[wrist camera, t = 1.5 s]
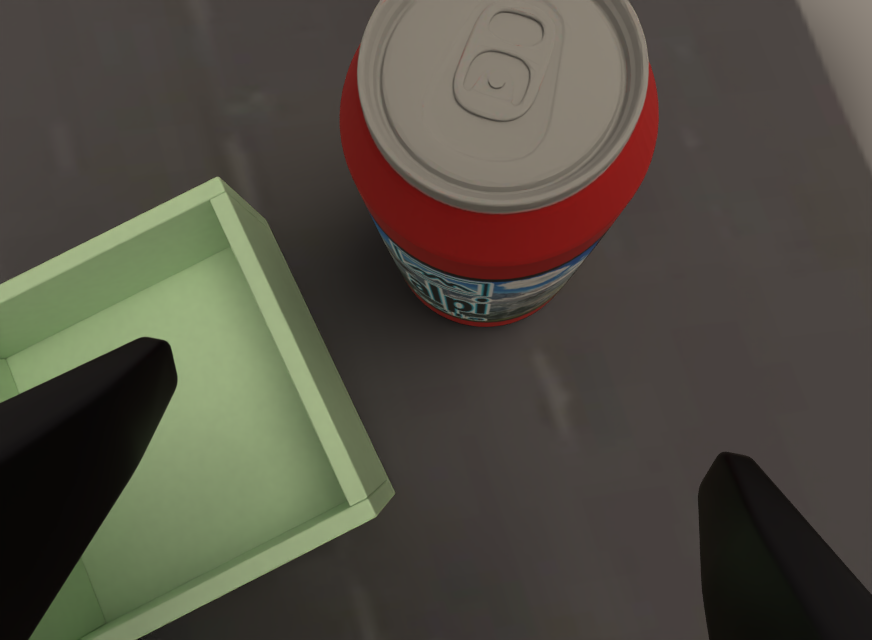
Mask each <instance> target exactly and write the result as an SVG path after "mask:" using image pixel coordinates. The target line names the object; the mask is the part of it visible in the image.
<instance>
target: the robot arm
mask: <svg viewBox="0 0 872 640" xmlns="http://www.w3.org/2000/svg"><path fill="white" fill-rule="evenodd" d="M177 382H178V375H177V371H176V366H175V362H174V358H173V353H172V349H171V346H170V344H169V343H168V342H167V341H165V340H162V339H157V338H152V337H140V338H138V339H136V340H133V341H131V342H129V343H127V344H125V345H123V346H121V347H118V348H116V349H114V350H112V351H110V352H108V353H106V354H104V355H101V356H99V357H97V358H95V359H93V360H91V361H89V362H86V363H84V364H82V365H80V366H78V367H76V368H74V369H72V370H69V371H67V372H65V373H63V374H61V375H59V376H57V377H54V378H52V379H50V380H48V381H46V382H44V383H42V384H40V385H37V386H35V387H33V388H31V389H29V390H27V391H25V392H23V393H20V394H18V395H16V396H14V397H12V398H10V399H8V400H5V401H3V402H1V403H0V640H29V638H30V637H31V635H32V634H33V632H34V630H35V629H36V627H37V626H38V624H39V622H40V621H41V619H42V618H43V616H44V615H45V613H46V611H47V610H48V608H49V607H50V605H51V604H52V602H53V600H54V599H55V597H56V596H57V594H58V592H59V591H60V589H61V588H62V586H63V585H64V583H65V581H66V580H67V578H68V577H69V575H70V573H71V572H72V570H73V569H74V567H75V566H76V564H77V562H78V561H79V559H80V558H81V556H82V555H83V553H84V551H85V550H86V548H87V547H88V545H89V543H90V542H91V540H92V539H93V537H94V536H95V534H96V532H97V531H98V529H99V528H100V526H101V525H102V523H103V521H104V520H105V518H106V517H107V515H108V513H109V512H110V510H111V509H112V507H113V506H114V504H115V502H116V501H117V499H118V498H119V496H120V494H121V493H122V491H123V490H124V488H125V487H126V485H127V483H128V482H129V480H130V479H131V477H132V475H133V474H134V472H135V470H136V469H137V467H138V465H139V463H140V461H141V459H142V457H143V455H144V453H145V451H146V449H147V447H148V445H149V443H150V441H151V439H152V437H153V435H154V433H155V431H156V429H157V427H158V425H159V423H160V421H161V419H162V417H163V415H164V413H165V411H166V408H167V406H168V404H169V402H170V400H171V398H172V396H173V394H174V392H175V390H176V387H177ZM698 509H699V534H700V560H701V581H702V594H703V601H704V609H705V615H706V622H707V628H708V634H709V640H872V595H871V594H870V592H869V591H868V590H867V589H866V588H865V587H864V586H863V584H862V583H861V582H860V581H859V580H858V579H857V578H856V576H855V575H854V574H853V573H852V572H851V571H850V570H849V568H848V567H847V566H846V565H845V564H844V563H843V562H842V560H841V559H840V558H839V557H838V556H837V555H836V554H835V552H834V551H833V550H832V549H831V548H830V547H829V546H828V544H827V543H826V542H825V541H824V540H823V539H822V538H821V536H820V535H819V534H818V533H817V532H816V531H815V530H814V528H813V527H812V526H811V525H810V524H809V523H808V522H807V520H806V519H805V518H804V517H803V516H802V515H801V514H800V512H799V511H798V510H797V509H796V508H795V507H794V506H793V504H792V503H791V502H790V501H789V500H788V499H787V498H786V496H785V495H784V494H783V493H782V492H781V491H780V490H779V489H778V487H777V486H776V485H775V484H774V483H773V482H772V481H771V479H770V478H769V477H768V476H767V475H766V474H765V473H764V471H763V470H762V469H761V468H760V467H759V466H758V465H757V463H756V462H755V461H754V460H753V459H752V458H750V457H748V456H745V455H740V454H735V453H730V452H722V453H720V454H719V455H718V456H717V457H716V459H715V461H714V462H713V464H712V466H711V467H710V469H709V471H708V472H707V474H706V476H705V477H704V479H703V481H702V482H701V485H700V488H699V493H698Z"/></svg>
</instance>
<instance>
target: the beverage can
mask: <svg viewBox="0 0 872 640" xmlns="http://www.w3.org/2000/svg"><path fill="white" fill-rule="evenodd" d="M658 121H659V115H658V98H657V89H656V84H655V79H654V75H653V72H652V69H651V65H650V63H649V60H648V52H647V46H646V40H645V36H644V33H643V30H642V27H641V25H640V22H639V19H638V17H637V15H636V13H635V11H634V9H633V7H632V5H631V4H630V2H629V1H628V0H380V2H379V3H378V4H377V6H376V8H375V10H374V12H373V13H372V15H371V18H370V20H369V22H368V24H367V26H366V29H365V32H364V35H363V38H362V41H361V44H360V45H359V47H358V49H357V51H356V53H355V55H354V57H353V59H352V61H351V64H350V67H349V70H348V72H347V76H346V79H345V83H344V87H343V91H342V97H341V105H340V133H341V142H342V147H343V151H344V155H345V159H346V162H347V165H348V168H349V170H350V173H351V175H352V178H353V180H354V182H355V184H356V186H357V188H358V190H359V192H360V194H361V197H362V199H363V201H364V203H365V205H366V207H367V209H368V211H369V213H370V215H371V217H372V219H373V221H374V223H375V225H376V227H377V229H378V231H379V233H380V235H381V237H382V239H383V240H384V242H385V244H386V246H387V248H388V250H389V252H390V254H391V256H392V257H393V259H394V261H395V263H396V265H397V267H398V268H399V270H400V272H401V274H402V275H403V277H404V279H405V280H406V282H407V284H408V285H409V287H410V288H411V290H412V291H413V292H414V294H415V295H416V296H417V297H418V298H419V299H420V300H421V301H422V302H423V303H424V304H425V305H426V306H428V307H429V308H430V309H432V310H433V311H434V312H436V313H438V314H439V315H441V316H443V317H445V318H447V319H450V320H452V321H455V322H458V323H461V324H465V325H470V326H480V327H490V326H500V325H505V324H510V323H513V322H516V321H519V320H521V319H524V318H526V317H528V316H530V315H531V314H533V313H535V312H536V311H538V310H539V309H541V308H542V307H543V306H544V305H546V304H547V303H548V302H549V301H550V300H551V299H552V298H553V297H554V296H555V295H556V294H557V292H558V291H559V290H560V289H561V288H562V287H563V286H564V284H565V283H566V282H567V281H568V280H569V279H570V277H571V276H572V275H573V274H574V273H575V271H576V270H577V269H578V268H579V267H580V265H581V264H582V263H583V262H584V260H585V259H586V258H587V257H588V255H589V254H590V253H591V252H592V250H593V249H594V248H595V246H596V245H597V244H598V243H599V241H600V240H601V239H602V237H603V236H604V235H605V233H606V232H607V231H608V229H609V228H610V227H611V225H612V224H613V223H614V221H615V220H616V219H617V217H618V216H619V215H620V213H621V212H622V211H623V209H624V208H625V207H626V205H627V204H628V203H629V201H630V200H631V199H632V197H633V196H634V194H635V193H636V191H637V189H638V188H639V186H640V185H641V183H642V181H643V179H644V177H645V175H646V172H647V170H648V167H649V165H650V162H651V159H652V156H653V152H654V149H655V144H656V139H657V133H658Z"/></svg>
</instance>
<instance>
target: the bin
mask: <svg viewBox="0 0 872 640" xmlns="http://www.w3.org/2000/svg"><path fill="white" fill-rule="evenodd" d="M140 337H152V338H157V339H162V340H165V341H167V342H168V343H169V344H170V346H171V349H172V353H173V358H174V362H175V366H176V371H177V375H178V382H177V387H176V390H175V392H174V394H173V396H172V398H171V400H170V402H169V404H168V406H167V408H166V411H165V413H164V415H163V417H162V419H161V421H160V423H159V425H158V427H157V429H156V431H155V433H154V435H153V437H152V439H151V441H150V443H149V445H148V447H147V449H146V451H145V453H144V455H143V457H142V459H141V461H140V463H139V465H138V467H137V469H136V470H135V472H134V474H133V475H132V477H131V479H130V480H129V482H128V483H127V485H126V487H125V488H124V490H123V491H122V493H121V494H120V496H119V498H118V499H117V501H116V502H115V504H114V506H113V507H112V509H111V510H110V512H109V513H108V515H107V517H106V518H105V520H104V521H103V523H102V525H101V526H100V528H99V529H98V531H97V532H96V534H95V536H94V537H93V539H92V540H91V542H90V543H89V545H88V547H87V548H86V550H85V551H84V553H83V555H82V556H81V558H80V559H79V561H78V562H77V564H76V566H75V567H74V569H73V570H72V572H71V573H70V575H69V577H68V578H67V580H66V581H65V583H64V585H63V586H62V588H61V589H60V591H59V592H58V594H57V596H56V597H55V599H54V600H53V602H52V604H51V605H50V607H49V608H48V610H47V611H46V613H45V615H44V616H43V618H42V619H41V621H40V622H39V624H38V626H37V627H36V629H35V630H34V632H33V634H32V635H31V637H30V638H29V640H136V639H138V638H140V637H142V636H144V635H146V634H148V633H150V632H152V631H154V630H156V629H158V628H160V627H162V626H164V625H166V624H168V623H170V622H172V621H174V620H176V619H178V618H180V617H182V616H183V615H185V614H187V613H189V612H191V611H193V610H195V609H197V608H199V607H201V606H203V605H205V604H207V603H209V602H211V601H213V600H215V599H217V598H219V597H221V596H223V595H225V594H227V593H229V592H230V591H232V590H234V589H236V588H238V587H240V586H242V585H244V584H246V583H248V582H250V581H252V580H254V579H256V578H258V577H260V576H262V575H264V574H266V573H268V572H270V571H272V570H274V569H276V568H277V567H279V566H281V565H283V564H285V563H287V562H289V561H291V560H293V559H295V558H297V557H299V556H301V555H303V554H305V553H307V552H309V551H311V550H313V549H315V548H317V547H319V546H321V545H323V544H325V543H326V542H328V541H330V540H332V539H334V538H336V537H338V536H340V535H342V534H344V533H346V532H348V531H350V530H352V529H354V528H356V527H358V526H360V525H362V524H364V523H366V522H368V521H370V520H372V519H373V518H375V517H376V516H377V515H378V514H379V513H380V511H381V510H382V509H383V508H384V507H385V505H386V504H387V503H388V502H389V500H390V499H391V498H392V497H393V496H394V495H395V491H394V489H393V487H392V485H391V483H390V481H389V479H388V476H387V474H386V472H385V470H384V468H383V466H382V464H381V462H380V460H379V457H378V455H377V453H376V451H375V449H374V447H373V445H372V443H371V440H370V438H369V436H368V434H367V432H366V430H365V428H364V426H363V424H362V421H361V419H360V417H359V415H358V413H357V411H356V409H355V407H354V405H353V402H352V400H351V398H350V396H349V394H348V392H347V390H346V388H345V386H344V383H343V381H342V379H341V377H340V375H339V373H338V371H337V369H336V366H335V364H334V362H333V360H332V358H331V356H330V354H329V352H328V350H327V347H326V345H325V343H324V341H323V339H322V337H321V335H320V333H319V331H318V328H317V326H316V324H315V322H314V320H313V318H312V316H311V314H310V312H309V309H308V307H307V305H306V303H305V301H304V299H303V297H302V295H301V292H300V290H299V288H298V286H297V284H296V282H295V280H294V278H293V276H292V273H291V271H290V269H289V267H288V265H287V263H286V261H285V259H284V257H283V254H282V252H281V250H280V248H279V246H278V244H277V242H276V240H275V238H274V235H273V233H272V231H271V229H270V227H269V225H268V223H267V221H266V219H265V218H264V217H263V216H261V215H260V214H259V213H258V212H257V211H256V210H255V209H254V208H252V207H251V206H250V205H249V204H248V203H247V202H246V201H245V200H244V199H243V198H242V197H240V196H239V195H238V194H237V193H236V192H235V191H234V190H233V189H232V188H231V187H230V186H228V185H227V184H226V183H225V182H224V181H223V180H222V179H221V178H220V177H215V178H213V179H211V180H209V181H207V182H205V183H203V184H201V185H199V186H197V187H195V188H193V189H191V190H189V191H187V192H185V193H183V194H181V195H179V196H177V197H175V198H173V199H171V200H169V201H167V202H165V203H163V204H161V205H159V206H157V207H155V208H153V209H151V210H149V211H147V212H145V213H143V214H141V215H139V216H137V217H135V218H133V219H131V220H129V221H127V222H125V223H123V224H121V225H119V226H117V227H115V228H113V229H111V230H109V231H107V232H105V233H103V234H101V235H99V236H97V237H95V238H93V239H91V240H89V241H87V242H85V243H83V244H81V245H79V246H77V247H75V248H73V249H71V250H69V251H67V252H65V253H63V254H61V255H59V256H57V257H55V258H53V259H51V260H49V261H47V262H45V263H43V264H41V265H39V266H37V267H35V268H33V269H31V270H28V271H26V272H24V273H22V274H20V275H18V276H16V277H14V278H12V279H10V280H8V281H6V282H4V283H2V284H0V403H1V402H3V401H5V400H8V399H10V398H12V397H14V396H16V395H18V394H20V393H23V392H25V391H27V390H29V389H31V388H33V387H35V386H37V385H40V384H42V383H44V382H46V381H48V380H50V379H52V378H54V377H57V376H59V375H61V374H63V373H65V372H67V371H69V370H72V369H74V368H76V367H78V366H80V365H82V364H84V363H86V362H89V361H91V360H93V359H95V358H97V357H99V356H101V355H104V354H106V353H108V352H110V351H112V350H114V349H116V348H118V347H121V346H123V345H125V344H127V343H129V342H131V341H133V340H136V339H138V338H140Z"/></svg>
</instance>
